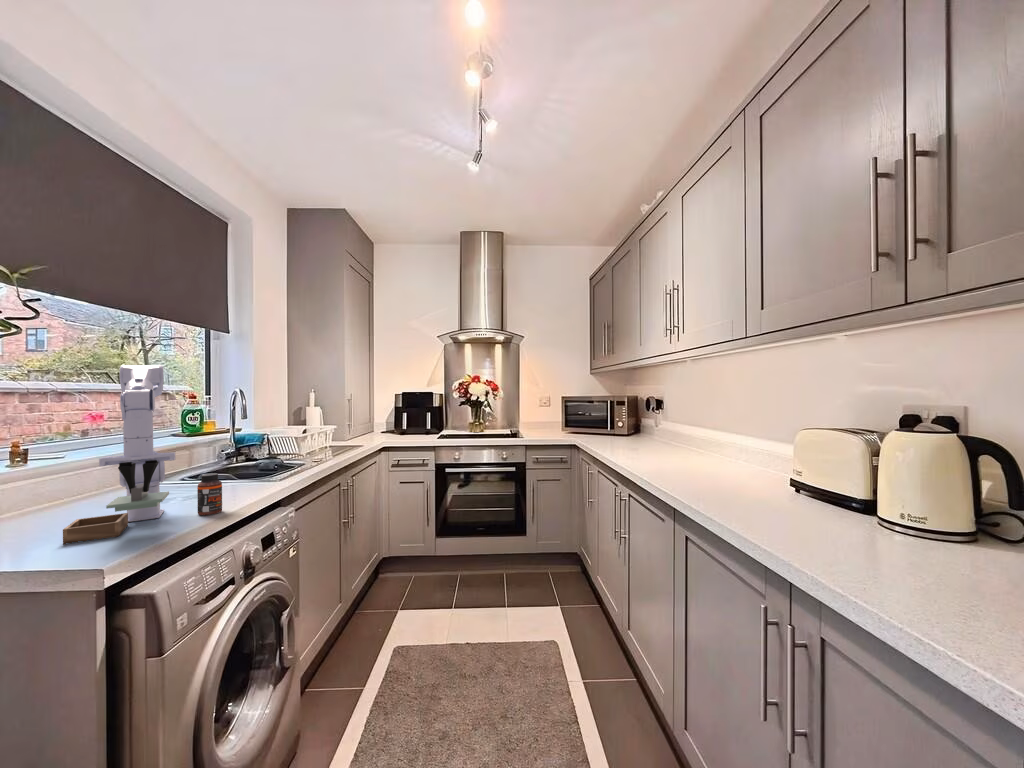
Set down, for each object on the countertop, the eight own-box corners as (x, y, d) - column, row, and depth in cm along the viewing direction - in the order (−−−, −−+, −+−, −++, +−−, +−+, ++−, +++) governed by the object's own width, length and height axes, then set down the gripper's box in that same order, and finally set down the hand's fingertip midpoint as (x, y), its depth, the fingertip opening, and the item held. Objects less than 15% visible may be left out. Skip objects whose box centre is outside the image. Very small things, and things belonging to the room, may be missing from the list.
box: (77, 533, 114) (76, 519, 114) (128, 526, 119) (127, 512, 119) (62, 544, 105) (62, 529, 105) (118, 536, 110) (118, 522, 110)
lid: (118, 504, 114) (117, 485, 114) (169, 498, 119) (168, 480, 119) (106, 513, 105) (106, 492, 105) (162, 506, 110) (161, 486, 110)
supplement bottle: (209, 516, 126) (209, 476, 126) (192, 515, 127) (191, 476, 127) (227, 510, 132) (226, 472, 132) (210, 510, 133) (209, 472, 133)
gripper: (94, 441, 105) (95, 499, 104) (172, 436, 112) (173, 490, 112) (103, 438, 111) (104, 493, 111) (176, 434, 118) (177, 486, 118)
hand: (139, 492), depth 112 cm, fingers closed on lid
